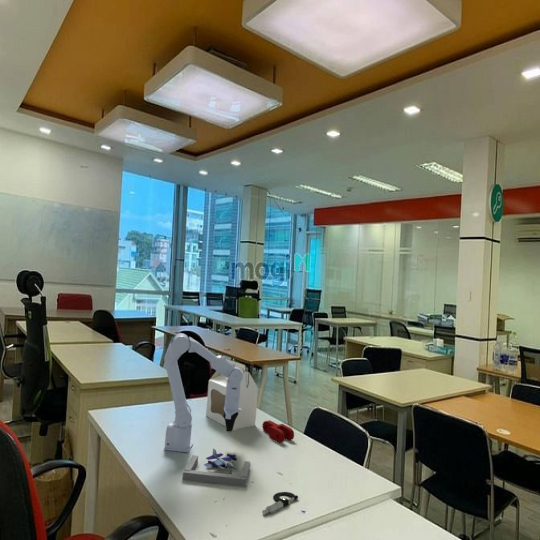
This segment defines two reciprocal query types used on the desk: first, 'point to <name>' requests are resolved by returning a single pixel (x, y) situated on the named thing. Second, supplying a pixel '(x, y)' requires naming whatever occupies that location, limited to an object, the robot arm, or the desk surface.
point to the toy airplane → (221, 461)
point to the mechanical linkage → (278, 431)
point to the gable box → (245, 401)
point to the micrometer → (279, 502)
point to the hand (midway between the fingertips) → (229, 431)
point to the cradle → (215, 475)
